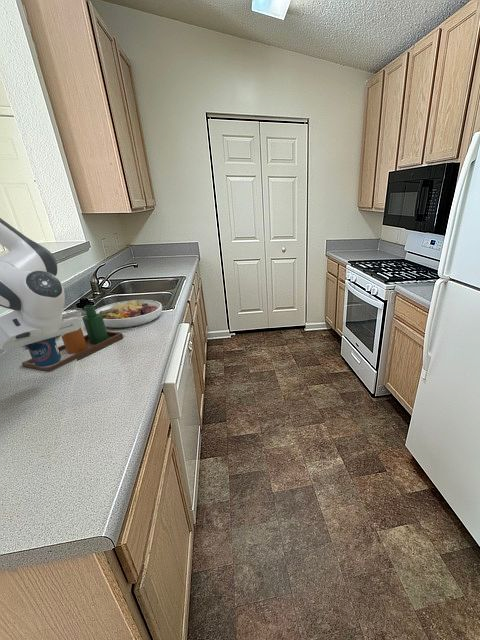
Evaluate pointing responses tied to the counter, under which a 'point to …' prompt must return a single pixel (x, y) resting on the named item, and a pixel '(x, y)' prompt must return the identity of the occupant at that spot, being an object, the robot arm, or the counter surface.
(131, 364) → the counter surface
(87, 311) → the green bottle
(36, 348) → the soda can
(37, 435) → the counter surface
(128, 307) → the bowl
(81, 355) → the tray
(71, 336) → the amber bottle
